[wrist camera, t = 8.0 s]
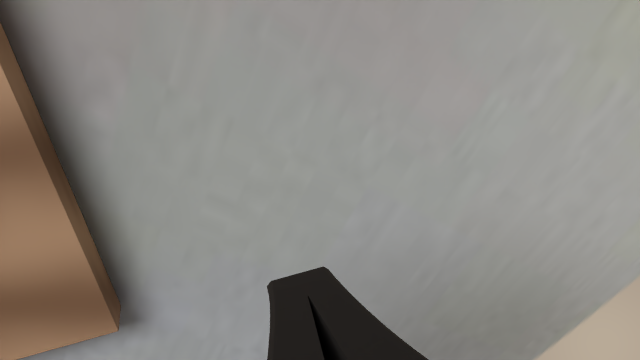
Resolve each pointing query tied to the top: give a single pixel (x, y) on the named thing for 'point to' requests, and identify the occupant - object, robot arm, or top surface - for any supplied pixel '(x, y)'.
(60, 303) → the mounting board
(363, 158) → the top surface
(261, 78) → the top surface
